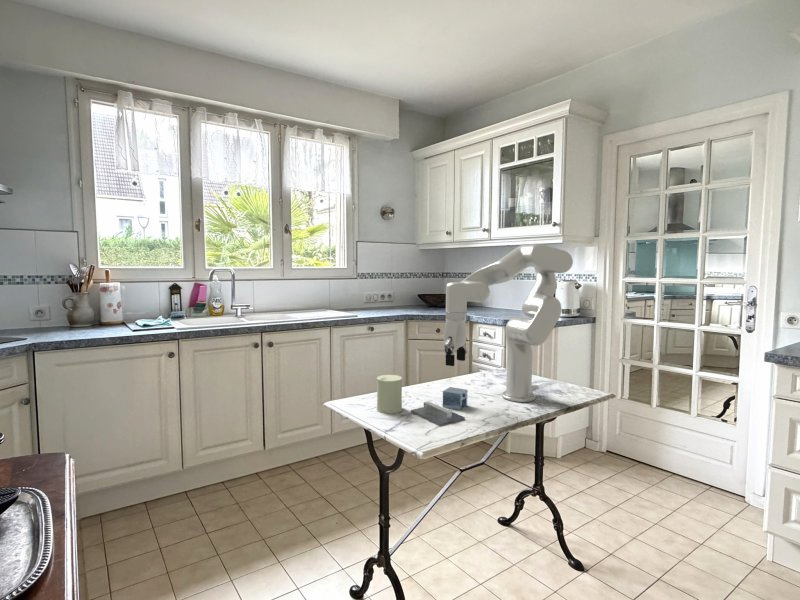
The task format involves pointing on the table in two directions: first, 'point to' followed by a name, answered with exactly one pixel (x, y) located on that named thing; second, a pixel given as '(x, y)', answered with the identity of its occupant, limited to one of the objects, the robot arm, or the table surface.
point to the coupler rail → (436, 418)
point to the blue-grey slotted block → (454, 398)
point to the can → (389, 393)
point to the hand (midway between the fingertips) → (455, 362)
